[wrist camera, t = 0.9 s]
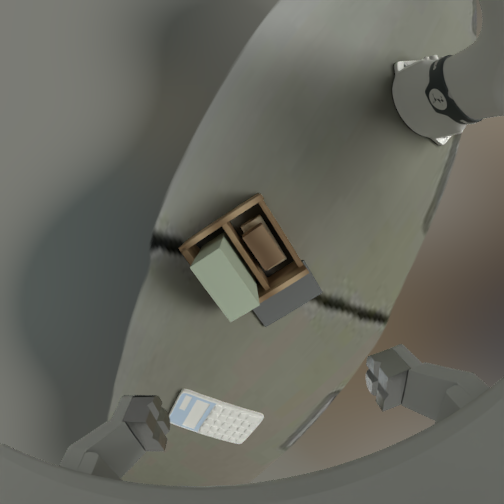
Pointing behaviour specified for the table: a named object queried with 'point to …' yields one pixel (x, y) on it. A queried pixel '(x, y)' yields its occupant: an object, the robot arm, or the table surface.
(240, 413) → the calculator
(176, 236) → the table surface
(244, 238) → the offcut upper
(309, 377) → the table surface
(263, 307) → the mat
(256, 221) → the offcut lower
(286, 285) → the rack
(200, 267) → the sage green thick block
